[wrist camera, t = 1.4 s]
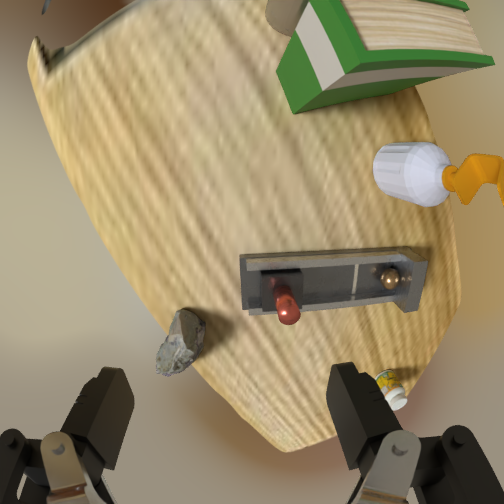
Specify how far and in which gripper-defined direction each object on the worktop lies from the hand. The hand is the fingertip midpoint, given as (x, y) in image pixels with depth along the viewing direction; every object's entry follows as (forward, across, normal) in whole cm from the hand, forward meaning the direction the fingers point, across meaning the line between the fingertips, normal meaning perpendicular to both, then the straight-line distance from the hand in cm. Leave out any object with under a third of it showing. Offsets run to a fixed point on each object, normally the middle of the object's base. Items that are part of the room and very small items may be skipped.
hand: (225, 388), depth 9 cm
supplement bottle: (+34, -33, +38) cm, 61 cm away
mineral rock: (+34, +11, +22) cm, 42 cm away
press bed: (+34, -16, +10) cm, 38 cm away
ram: (+32, -7, +11) cm, 34 cm away
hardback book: (+33, -16, -22) cm, 43 cm away
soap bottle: (+33, -26, -8) cm, 43 cm away
